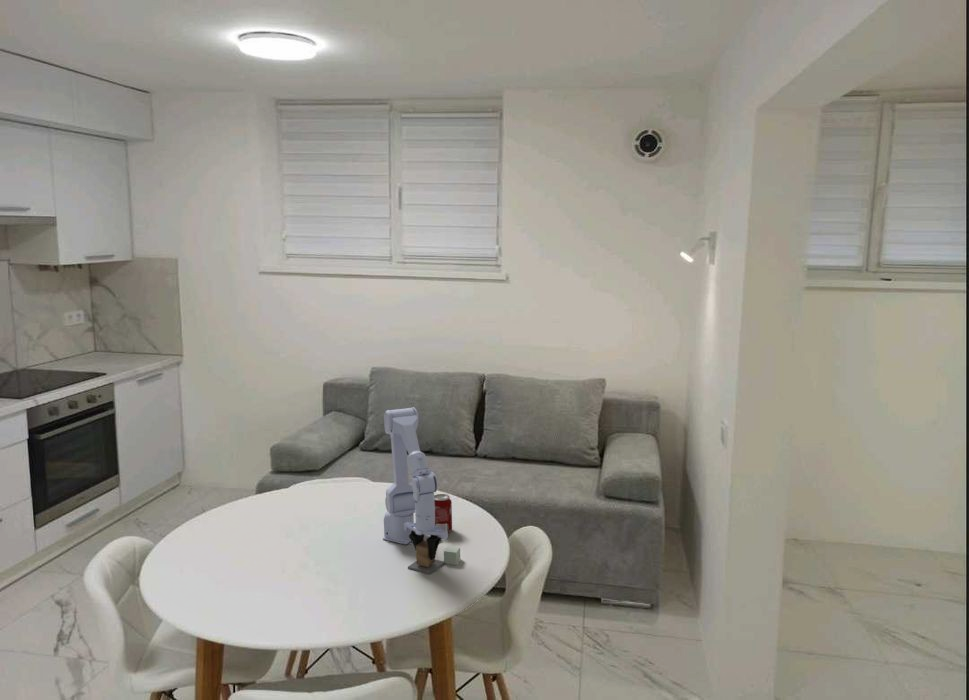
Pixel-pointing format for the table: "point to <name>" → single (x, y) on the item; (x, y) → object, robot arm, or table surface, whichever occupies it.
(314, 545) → the table surface
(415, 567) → the slate coaster
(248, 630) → the table surface
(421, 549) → the walnut block
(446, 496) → the soda can
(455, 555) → the sage block
